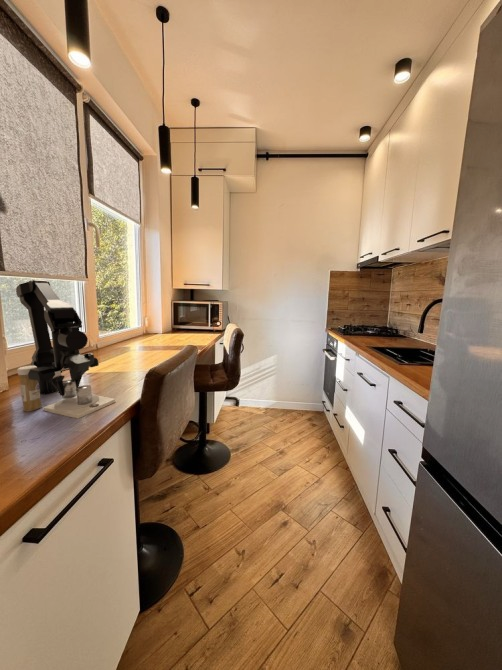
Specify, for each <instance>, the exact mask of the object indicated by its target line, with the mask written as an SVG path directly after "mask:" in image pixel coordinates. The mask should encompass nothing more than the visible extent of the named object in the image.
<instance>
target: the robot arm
mask: <svg viewBox="0 0 502 670" xmlns="http://www.w3.org/2000/svg"><path fill="white" fill-rule="evenodd" d="M15 291H16V293H15V294H16V296H17V297H18V298H19V301H20V304H21V305H23V306H24V308H25V309H27V312H28V316H29V321H30V326H31V331H32V335H33V336H32V337H33V340H34V345H35V349H34V353H33V354H32V357H31V360H32V361H31V363H30V365H29V366H37V368H35V369H30V371H29V373H28V378H29V379H32V380H37V381H38V384H39V391H40V395H48V394H51V393H54V392H58V394H59V395H60V396H61V397H62V396H64V387H63V381H64V379H65V375H62V373H63V372H66V371H69V375H70V380H76V388H77V387H79V386H80V383H81V380H82V378H83V376H84V374H85V373H86V372H87V371H89V370H90V368H94V367H99V360H98V358H97V357H95V355H94V353H92V352H86V353H83V354H80V350H82V349H84V348H85V347H86V346H87V344H88V341H89V340H88V336H87V335H86V333H85V332H83V331H81V330H80V329H82V327H83V325H82V323H83V322H82V320H81V318H80V316H79V314H78V312H77V311H76V309H74V307H73V306H72V305H71V304H70V303H68V302H65V301H62V300H61V298H60V297H59V296H58V295H57V293H56V292H55V291H54V289H53V288H52V286H51V283H50V281H49V280H45V279H32V280H31V279H30V280H28V281H27V282H23V283H22V282H21V283H20V284H18V285H17V286H16V287H15ZM49 329H50V330H49ZM49 331H50V332H51V336H50V332H49ZM51 341H52V342H51Z"/></svg>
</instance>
